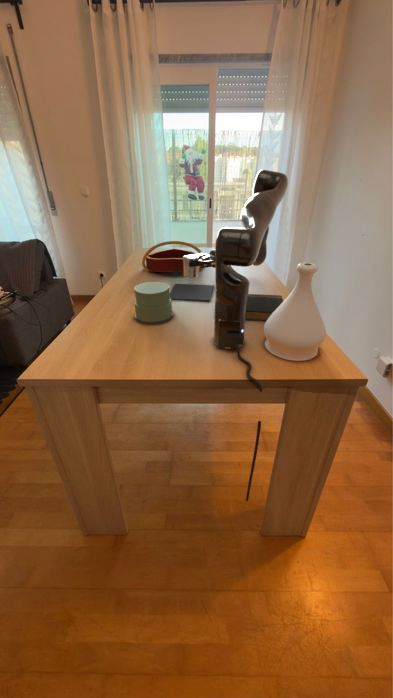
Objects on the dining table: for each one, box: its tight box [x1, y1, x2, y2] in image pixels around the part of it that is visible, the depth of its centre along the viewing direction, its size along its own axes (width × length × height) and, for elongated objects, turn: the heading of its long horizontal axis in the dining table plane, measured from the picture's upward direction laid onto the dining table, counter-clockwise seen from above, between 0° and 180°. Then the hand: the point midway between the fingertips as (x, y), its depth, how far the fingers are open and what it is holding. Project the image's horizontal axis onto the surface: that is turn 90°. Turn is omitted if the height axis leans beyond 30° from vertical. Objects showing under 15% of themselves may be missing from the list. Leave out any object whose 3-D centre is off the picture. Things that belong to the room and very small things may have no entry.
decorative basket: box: [141, 240, 205, 273], centre depth 149 cm, size 34×29×15 cm
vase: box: [263, 262, 327, 362], centre depth 80 cm, size 17×17×25 cm
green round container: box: [133, 281, 174, 325], centre depth 101 cm, size 14×14×11 cm
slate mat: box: [169, 283, 215, 303], centre depth 124 cm, size 18×18×1 cm
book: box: [246, 293, 284, 322], centre depth 108 cm, size 17×4×25 cm
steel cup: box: [183, 254, 200, 279], centre depth 118 cm, size 7×7×8 cm
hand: (186, 262), depth 116 cm, fingers closed on steel cup, 6 cm apart
